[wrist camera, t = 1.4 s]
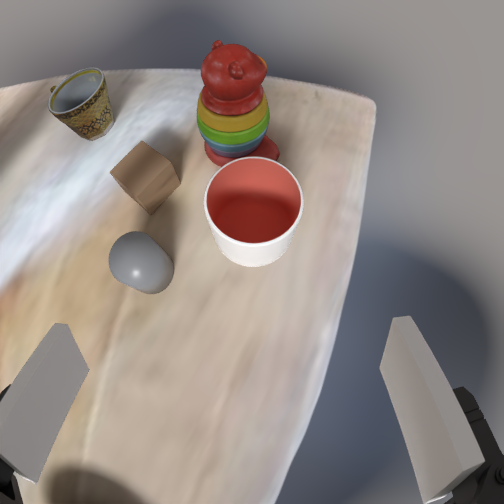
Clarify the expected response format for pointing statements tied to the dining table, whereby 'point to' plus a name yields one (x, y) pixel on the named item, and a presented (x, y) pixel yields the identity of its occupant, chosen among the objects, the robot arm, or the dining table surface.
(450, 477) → the robot arm
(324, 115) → the dining table surface
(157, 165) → the walnut block
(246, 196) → the cup
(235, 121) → the stacking bear
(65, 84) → the ceramic cup
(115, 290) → the dining table surface
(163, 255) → the grey rounded cylinder
